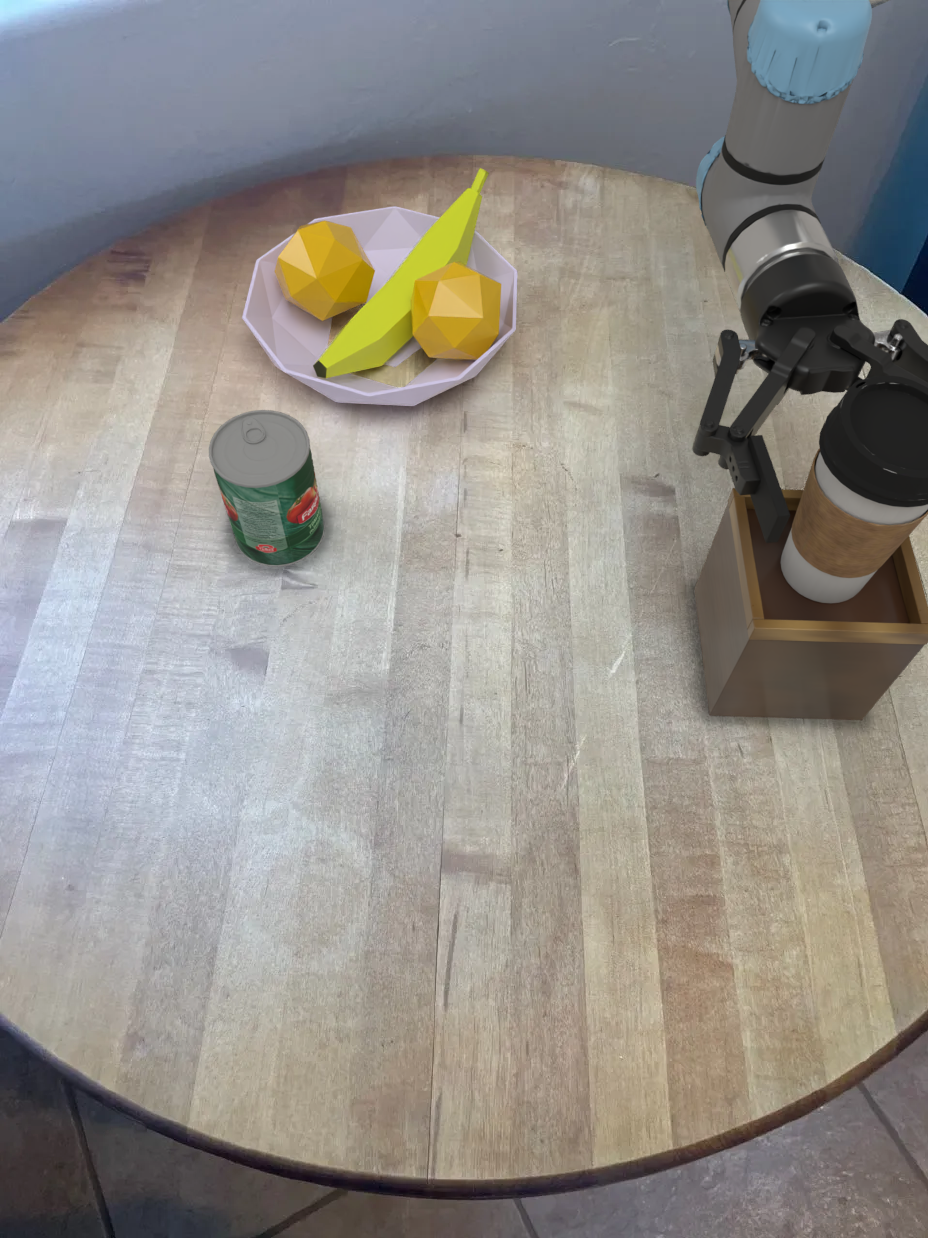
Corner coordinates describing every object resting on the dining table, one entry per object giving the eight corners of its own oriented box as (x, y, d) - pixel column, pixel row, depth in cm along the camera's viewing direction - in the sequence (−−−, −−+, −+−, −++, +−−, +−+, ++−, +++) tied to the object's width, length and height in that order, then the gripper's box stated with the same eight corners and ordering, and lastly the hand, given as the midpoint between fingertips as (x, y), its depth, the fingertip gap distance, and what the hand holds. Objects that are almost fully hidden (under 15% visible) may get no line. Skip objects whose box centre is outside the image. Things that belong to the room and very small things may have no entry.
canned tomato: (337, 551, 84) (323, 467, 74) (249, 579, 82) (223, 497, 72) (309, 485, 87) (292, 398, 78) (224, 511, 86) (197, 425, 76)
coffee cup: (820, 504, 72) (900, 350, 59) (907, 582, 68) (1013, 436, 55) (737, 556, 69) (803, 407, 56) (823, 640, 65) (914, 501, 53)
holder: (834, 593, 82) (897, 492, 70) (862, 722, 75) (936, 633, 64) (692, 589, 82) (732, 487, 70) (708, 717, 76) (754, 628, 64)
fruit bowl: (340, 480, 88) (327, 390, 78) (211, 309, 99) (186, 212, 90) (585, 363, 96) (600, 269, 86) (440, 218, 108) (439, 121, 98)
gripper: (932, 322, 75) (1046, 542, 63) (615, 342, 73) (675, 571, 62) (976, 238, 68) (1112, 467, 57) (630, 258, 67) (700, 497, 55)
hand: (885, 522), depth 59 cm, fingers open, 13 cm apart
